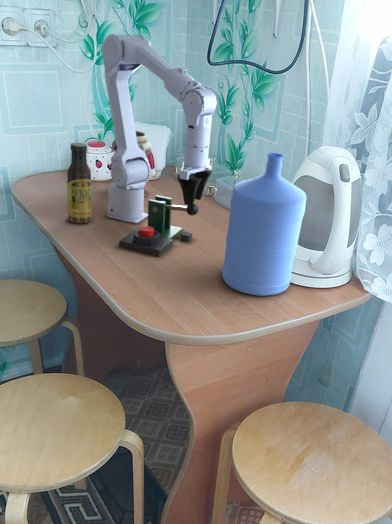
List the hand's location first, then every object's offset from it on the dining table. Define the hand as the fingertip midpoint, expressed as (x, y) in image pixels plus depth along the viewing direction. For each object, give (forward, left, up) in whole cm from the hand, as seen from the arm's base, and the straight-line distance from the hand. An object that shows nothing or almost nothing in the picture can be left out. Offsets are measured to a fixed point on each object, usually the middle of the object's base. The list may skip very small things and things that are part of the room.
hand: (192, 201), depth 129 cm
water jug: (+22, -14, -11) cm, 28 cm away
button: (-8, -10, -7) cm, 14 cm away
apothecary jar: (-31, +25, -11) cm, 41 cm away
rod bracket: (-9, 0, -10) cm, 14 cm away
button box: (-8, -10, -10) cm, 16 cm away
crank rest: (-1, 0, -10) cm, 10 cm away
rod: (-4, 0, -4) cm, 6 cm away
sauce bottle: (-31, -4, -11) cm, 33 cm away
